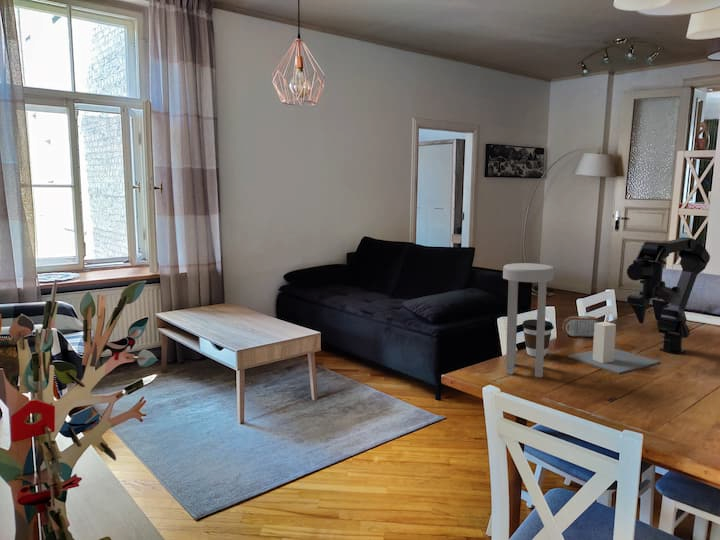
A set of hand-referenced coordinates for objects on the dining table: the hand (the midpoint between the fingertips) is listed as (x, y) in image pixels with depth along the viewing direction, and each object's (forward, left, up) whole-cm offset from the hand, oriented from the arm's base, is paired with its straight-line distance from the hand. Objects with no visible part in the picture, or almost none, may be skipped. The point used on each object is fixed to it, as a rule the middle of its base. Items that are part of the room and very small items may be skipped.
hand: (649, 321), depth 185 cm
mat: (+13, -4, -13) cm, 19 cm away
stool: (+47, -12, -13) cm, 50 cm away
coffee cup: (+31, -22, -13) cm, 40 cm away
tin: (-3, -30, -13) cm, 33 cm away
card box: (+18, -5, -12) cm, 22 cm away
